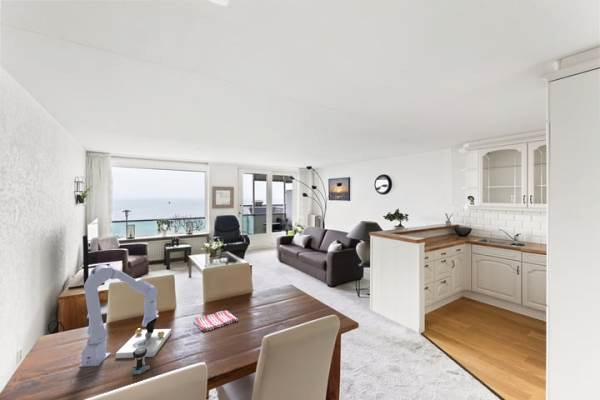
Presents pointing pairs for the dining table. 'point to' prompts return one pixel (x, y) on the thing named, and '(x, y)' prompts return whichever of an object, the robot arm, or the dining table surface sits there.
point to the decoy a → (138, 331)
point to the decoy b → (160, 334)
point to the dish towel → (214, 320)
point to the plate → (144, 343)
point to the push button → (139, 360)
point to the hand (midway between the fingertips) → (150, 333)
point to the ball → (148, 334)
